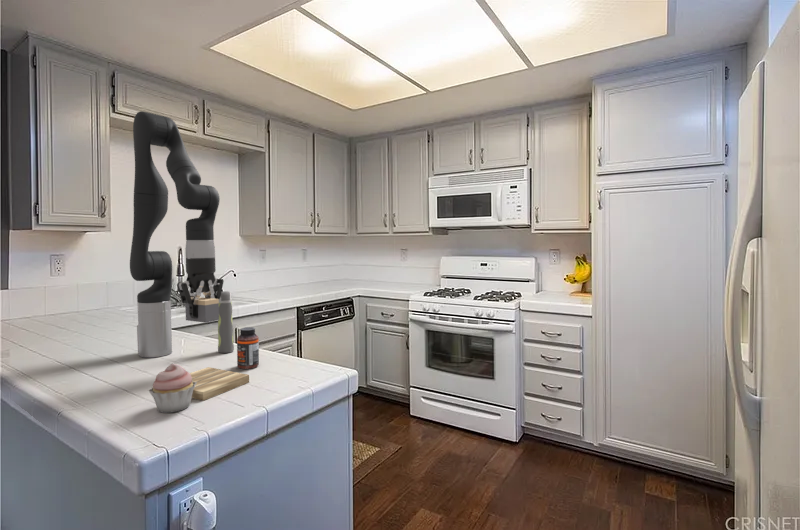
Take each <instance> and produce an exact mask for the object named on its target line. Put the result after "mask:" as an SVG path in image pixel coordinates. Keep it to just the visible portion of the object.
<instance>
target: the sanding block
mask: <svg viewBox="0 0 800 530" xmlns="http://www.w3.org/2000/svg"><path fill="white" fill-rule="evenodd" d="M184 304H185V306H184V307H185V321H188V322H196V323H206V324H207V323H211V322H216V321H218V320H219V299H214V298H205V297H201V296H200V297H199V299H198V303H197V305H198V318H196V319H194V318H191V316H190V315H189V305H188V304H186V303H184Z"/></svg>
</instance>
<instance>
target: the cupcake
mask: <svg viewBox="0 0 800 530" xmlns="http://www.w3.org/2000/svg"><path fill="white" fill-rule="evenodd" d="M190 373H191V372H189V371H186V369H185V368H184V367H183V366H182V365H179V364H177V363H176V364H175V363H171V364H169V365H168V366H167V367H165V369H164V371H163V370H162V371H160V372H159V373H158V374H157V375H156V377H155V379H154V381H153V384H152V386H151V389H148V390H147V391H148V392H149V393H150V395H151V396H152V398H153V400H154V403H155V406H156V409H157V411H158V412H160V413H167V414H168V413H176V412H180V411H183V410H185V409H187V408H188V407H189V406H190V405H191V401H192V398H191V397H192V393H193V390H194V387H195V385H196V383H197V382H193V381H192V377H191V375H190Z"/></svg>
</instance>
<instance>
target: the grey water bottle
mask: <svg viewBox="0 0 800 530" xmlns="http://www.w3.org/2000/svg"><path fill="white" fill-rule="evenodd" d="M232 303H233V301H232V293H231V292H230V291H228V290H227V291H224V290H223V291H222V292H221V297H220V299H219V320H217V333H218V335H217V336H218V337H217V341H218V343H217V351H218V353H219V354H228V353H229V354H230V353H232V352H234V350H235V346H234V325H233V304H232Z"/></svg>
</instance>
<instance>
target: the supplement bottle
mask: <svg viewBox="0 0 800 530" xmlns="http://www.w3.org/2000/svg"><path fill="white" fill-rule="evenodd" d="M239 331H240V334H239V336H238V337H236V338H237V339H236V352H237V354H236V356H237V358H236V360H237V361H236V362H237V364H236V365H237V368H238V369H241V370H249V369H250V370H251V369H254V368H255V369H256V368H257V367H258V366H259V364H260V361H259V360H260V359H259V358H260V357H259V355H260V354H259V353H260V351H259V350H260V349H259V348H260V347H259V346H260V345H259V344H260V343H259V341H260V340H259V335H257V334H256V328H255V327H252V326H251V327H250V326H247V327H242V328H240V330H239Z"/></svg>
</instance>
